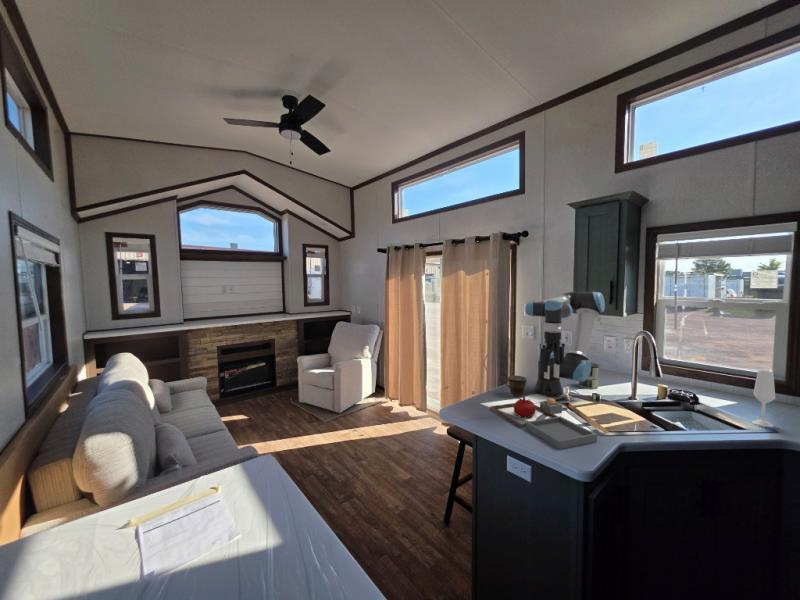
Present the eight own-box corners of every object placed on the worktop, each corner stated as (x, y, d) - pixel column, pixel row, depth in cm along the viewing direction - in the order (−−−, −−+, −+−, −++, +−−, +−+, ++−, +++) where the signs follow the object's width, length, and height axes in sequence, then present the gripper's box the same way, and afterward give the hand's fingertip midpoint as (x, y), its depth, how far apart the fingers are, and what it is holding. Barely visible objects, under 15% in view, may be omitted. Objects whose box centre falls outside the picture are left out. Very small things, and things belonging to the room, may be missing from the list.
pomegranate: (539, 419, 155) (540, 399, 154) (519, 420, 153) (520, 400, 152) (527, 410, 164) (528, 392, 164) (509, 411, 163) (510, 393, 162)
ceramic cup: (518, 391, 193) (518, 374, 193) (530, 397, 184) (530, 379, 184) (499, 393, 189) (499, 376, 189) (510, 399, 180) (510, 381, 179)
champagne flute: (775, 428, 145) (778, 374, 144) (752, 424, 149) (755, 371, 148) (772, 423, 150) (775, 371, 149) (750, 419, 154) (753, 369, 153)
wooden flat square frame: (527, 404, 173) (527, 401, 173) (561, 421, 151) (561, 418, 151) (489, 409, 166) (490, 406, 166) (520, 428, 144) (520, 424, 144)
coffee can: (583, 388, 199) (583, 365, 198) (576, 383, 209) (576, 361, 208) (601, 389, 197) (602, 366, 197) (593, 384, 208) (594, 362, 207)
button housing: (550, 407, 168) (551, 400, 168) (561, 412, 162) (561, 404, 161) (539, 409, 166) (540, 401, 166) (550, 414, 159) (550, 406, 159)
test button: (550, 405, 166) (551, 397, 166) (557, 408, 162) (557, 400, 162) (544, 406, 165) (544, 398, 165) (550, 409, 161) (550, 401, 161)
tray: (559, 422, 150) (560, 416, 150) (596, 441, 132) (597, 434, 132) (525, 428, 144) (525, 421, 144) (559, 449, 126) (559, 441, 126)
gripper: (543, 333, 155) (542, 381, 156) (573, 331, 161) (572, 378, 162) (532, 331, 162) (531, 377, 164) (561, 329, 168) (560, 374, 169)
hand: (551, 377), depth 163 cm, fingers open, 5 cm apart
